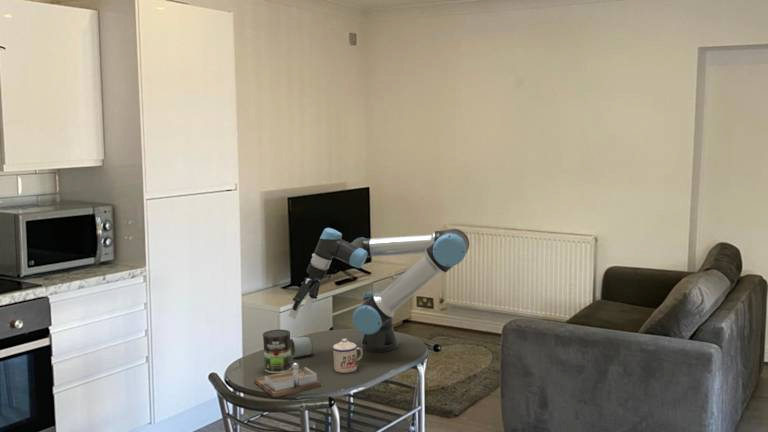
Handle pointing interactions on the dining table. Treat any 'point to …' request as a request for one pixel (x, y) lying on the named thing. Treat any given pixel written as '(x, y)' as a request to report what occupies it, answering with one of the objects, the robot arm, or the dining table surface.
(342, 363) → the teacup with lid
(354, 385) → the dining table surface
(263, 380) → the board
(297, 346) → the ceramic mug
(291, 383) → the keeper cradle
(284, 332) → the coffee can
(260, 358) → the dining table surface
